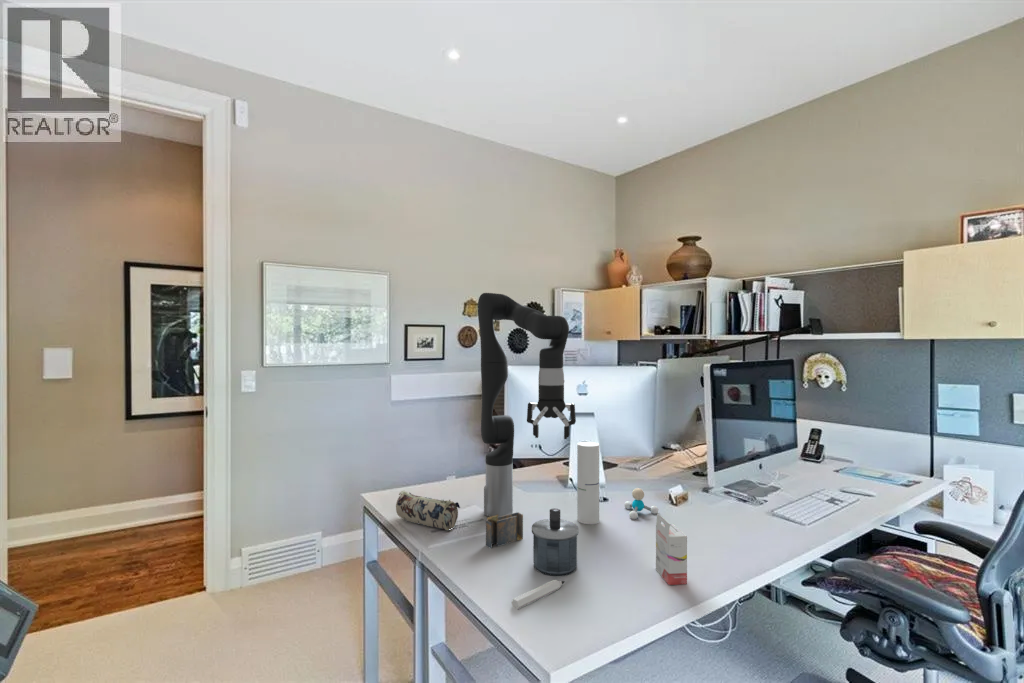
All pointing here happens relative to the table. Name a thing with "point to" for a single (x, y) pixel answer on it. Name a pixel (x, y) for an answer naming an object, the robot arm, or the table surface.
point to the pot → (555, 556)
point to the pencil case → (427, 510)
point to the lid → (555, 528)
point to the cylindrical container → (588, 482)
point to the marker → (536, 594)
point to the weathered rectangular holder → (504, 529)
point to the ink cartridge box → (671, 552)
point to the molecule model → (638, 504)
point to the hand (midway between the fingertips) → (551, 438)
